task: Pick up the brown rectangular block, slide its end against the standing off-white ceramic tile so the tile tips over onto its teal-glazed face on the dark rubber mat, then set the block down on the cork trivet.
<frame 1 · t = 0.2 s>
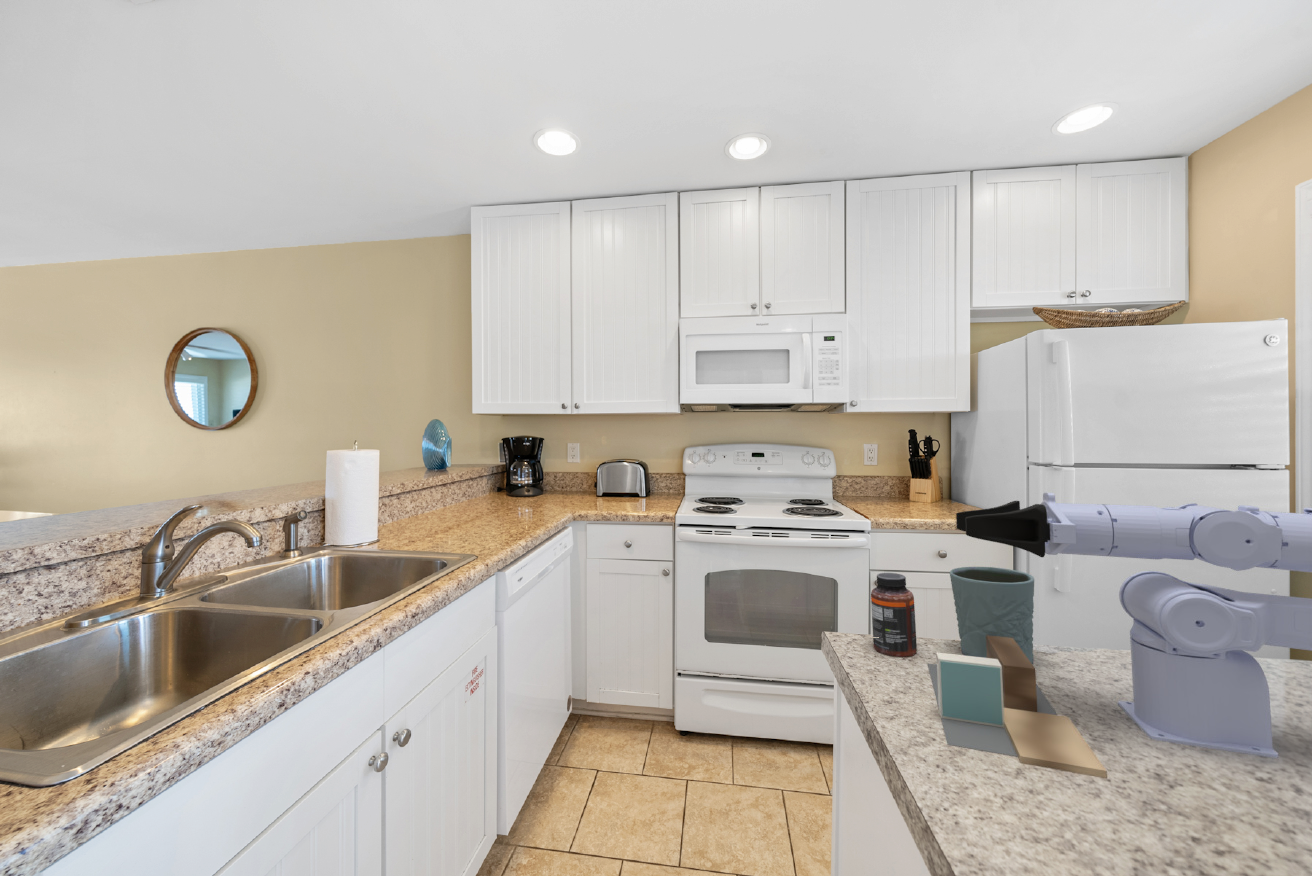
hand: (960, 523, 62), 21 cm above the countertop, tool horizontal, fingers open, 7 cm apart
trivet: (1046, 744, 52), resting on mat
supplement bottle: (894, 652, 76), on the countertop
mat: (994, 708, 59), on the countertop
tile: (970, 718, 57), resting on mat
teal textured planter: (994, 659, 73), on the countertop
brown rectangular block: (1010, 691, 62), resting on mat
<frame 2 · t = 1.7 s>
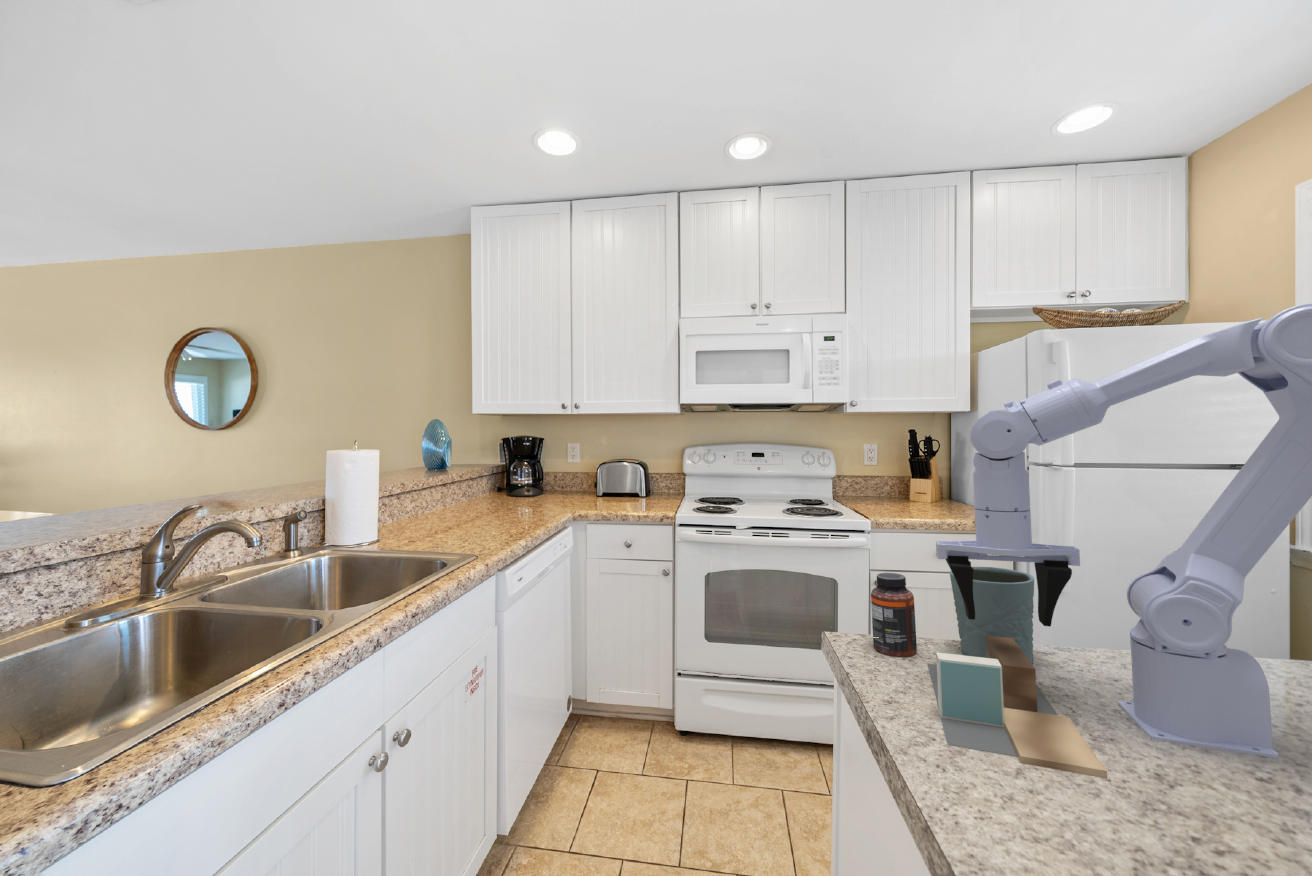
hand: (1006, 620, 63), 9 cm above the countertop, tool pointing down, fingers open, 7 cm apart
nothing on the countertop moved.
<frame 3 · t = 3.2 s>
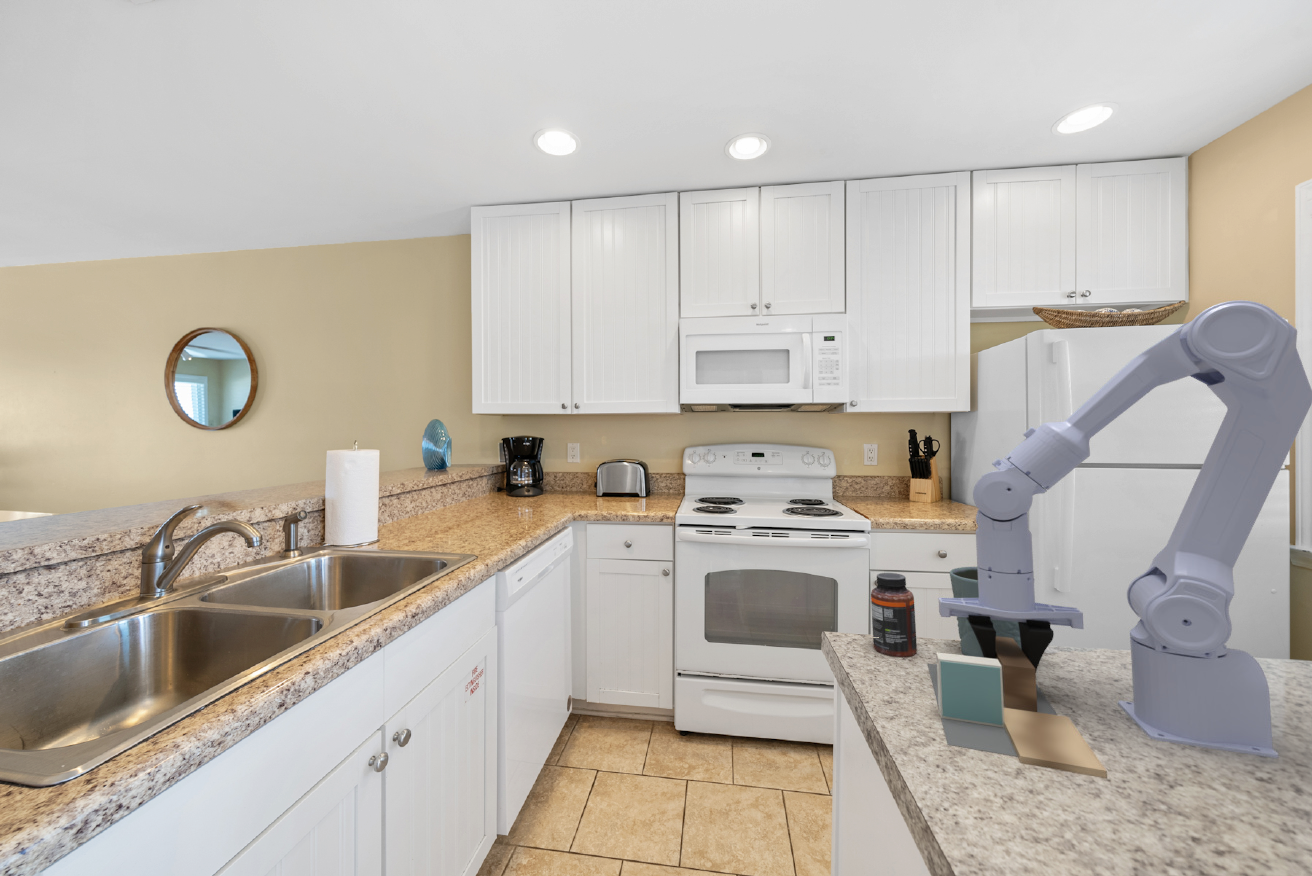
hand: (1010, 680, 62), 2 cm above the countertop, tool pointing down, fingers closed on brown rectangular block, 3 cm apart
brown rectangular block: (1010, 691, 62), resting on mat, touching gripper
everything else where it was.
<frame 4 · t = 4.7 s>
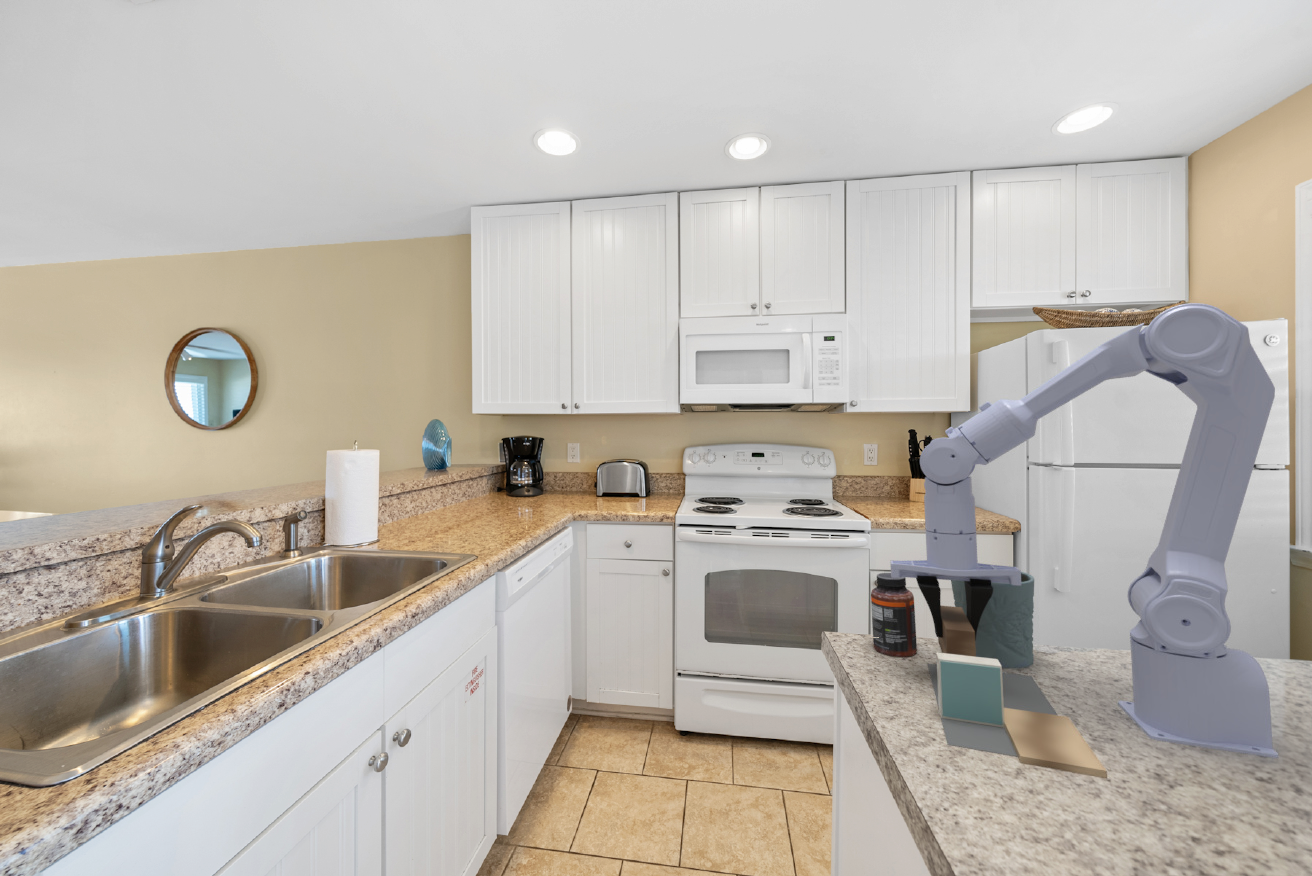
hand: (955, 636, 66), 6 cm above the countertop, tool pointing down, fingers closed on brown rectangular block, 3 cm apart
brown rectangular block: (956, 656, 66), point 3 cm above the countertop, touching gripper
everything else where it was.
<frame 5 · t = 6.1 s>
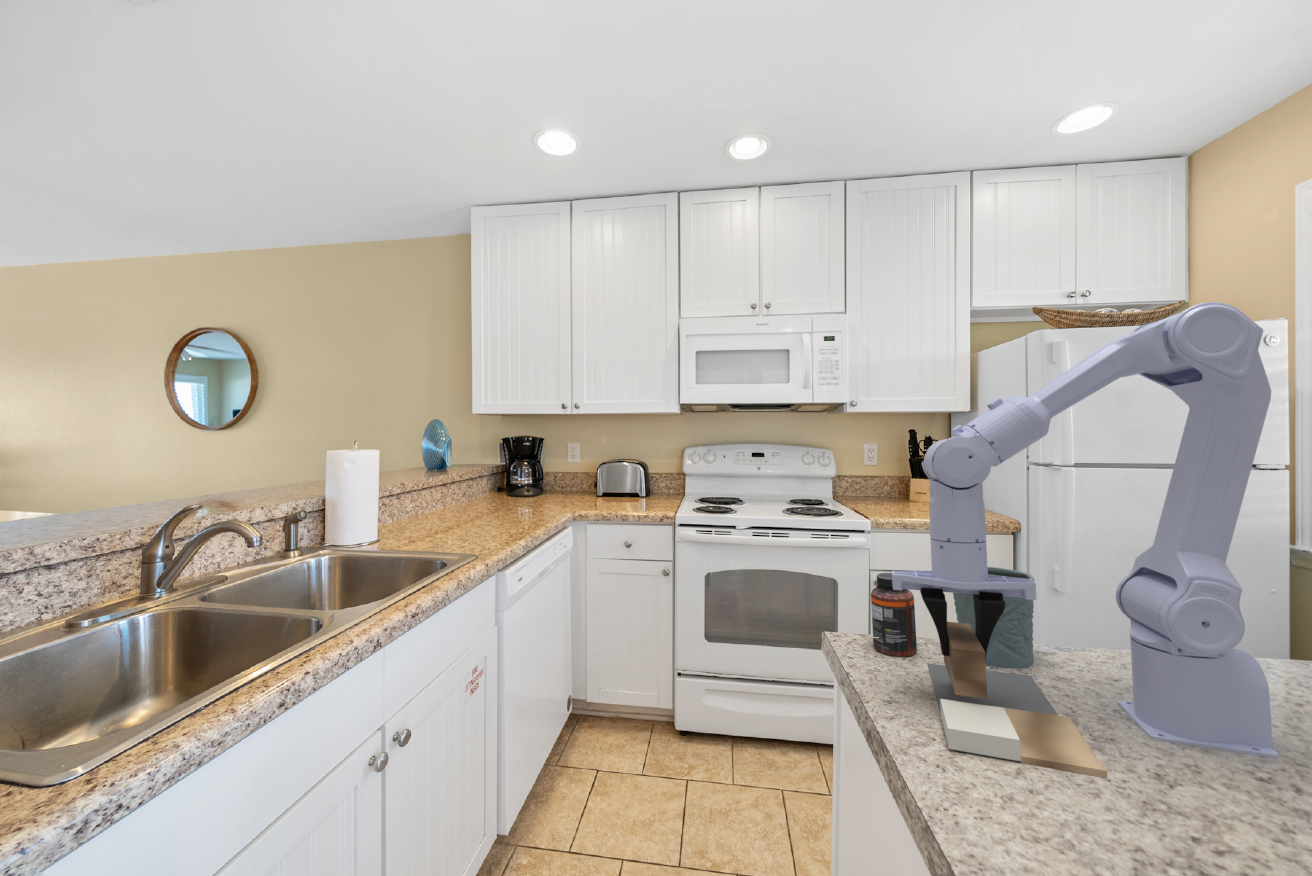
hand: (962, 654, 60), 6 cm above the countertop, tool pointing down, fingers closed on brown rectangular block, 3 cm apart
tile: (971, 712, 56), point 1 cm above the countertop, tilted 90°, touching mat
brown rectangular block: (963, 678, 60), point 3 cm above the countertop, touching gripper
everything else where it was.
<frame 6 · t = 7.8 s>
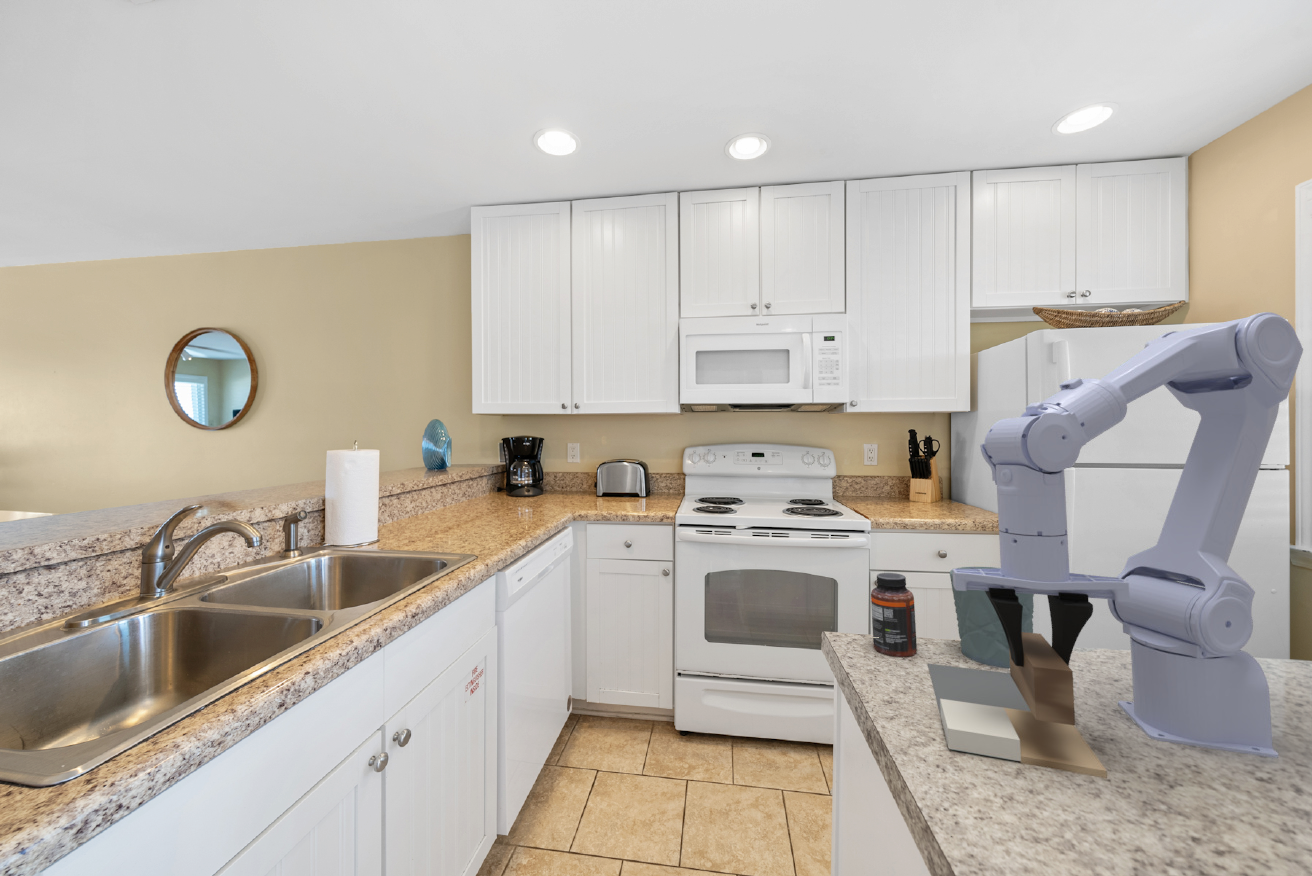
hand: (1038, 665, 52), 8 cm above the countertop, tool pointing down, fingers closed on brown rectangular block, 3 cm apart
brown rectangular block: (1039, 697, 52), point 4 cm above the countertop, touching gripper
everything else where it was.
when the fingers open (3 cm above the countertop, at t = 8.9 s): brown rectangular block stays where it is, resting on trivet.
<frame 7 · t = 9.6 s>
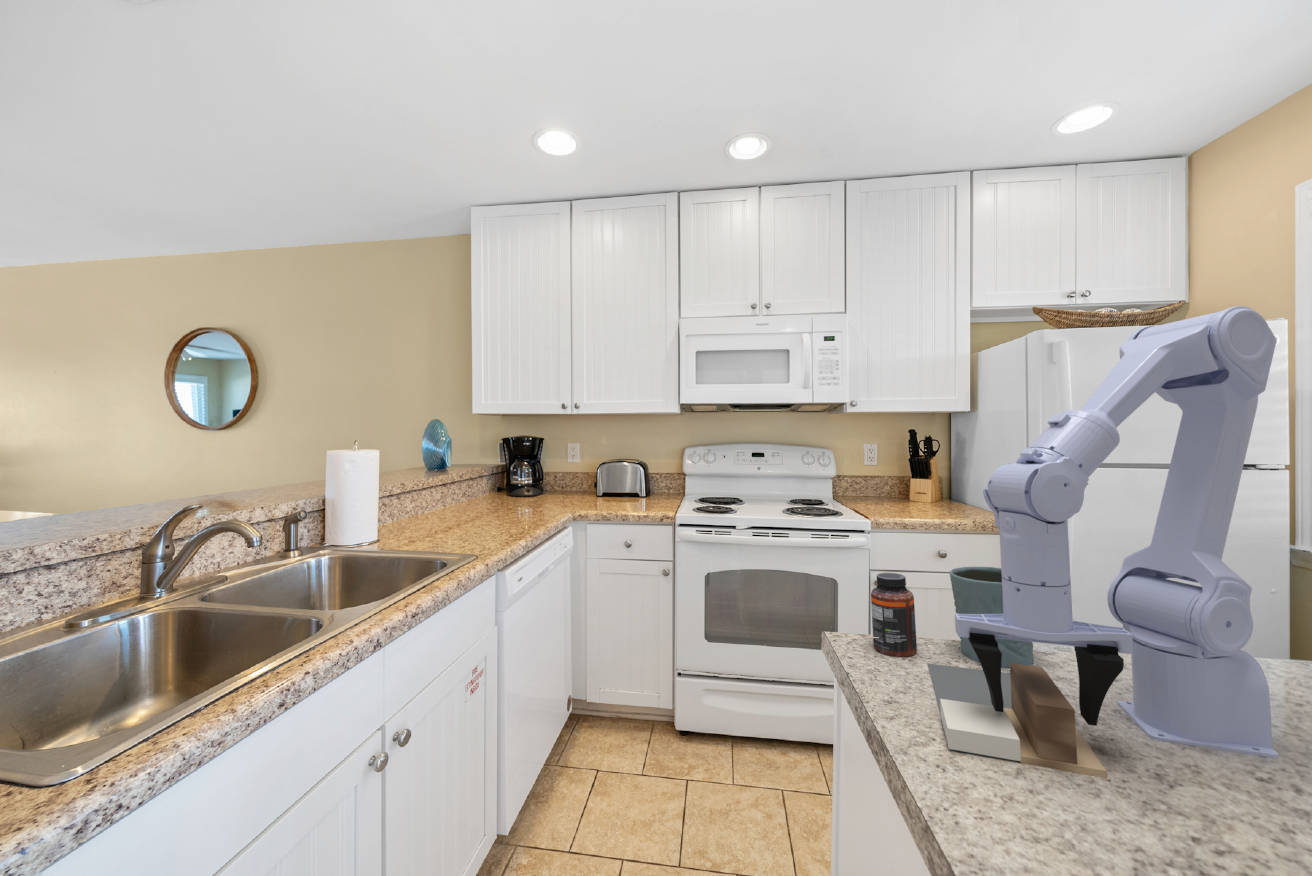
hand: (1041, 713, 52), 3 cm above the countertop, tool pointing down, fingers open, 7 cm apart
brown rectangular block: (1041, 733, 52), point 1 cm above the countertop, touching trivet
everything else where it was.
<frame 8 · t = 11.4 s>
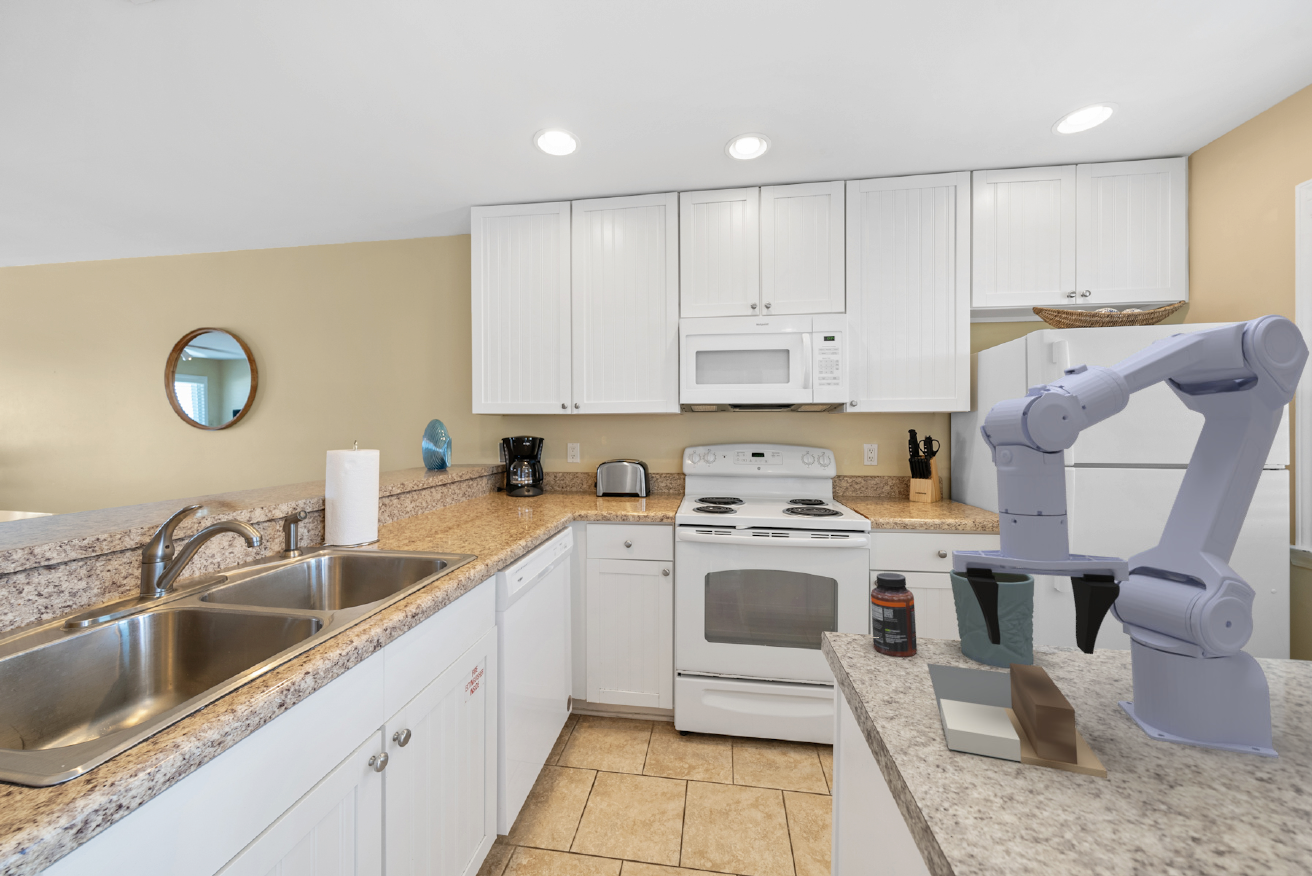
hand: (1038, 645, 52), 10 cm above the countertop, tool pointing down, fingers open, 7 cm apart
nothing on the countertop moved.
at the end: tile tilted 90°; brown rectangular block inside the target area (0.2 cm from its centre), point 0.9 cm above the countertop; the gripper is holding nothing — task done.
